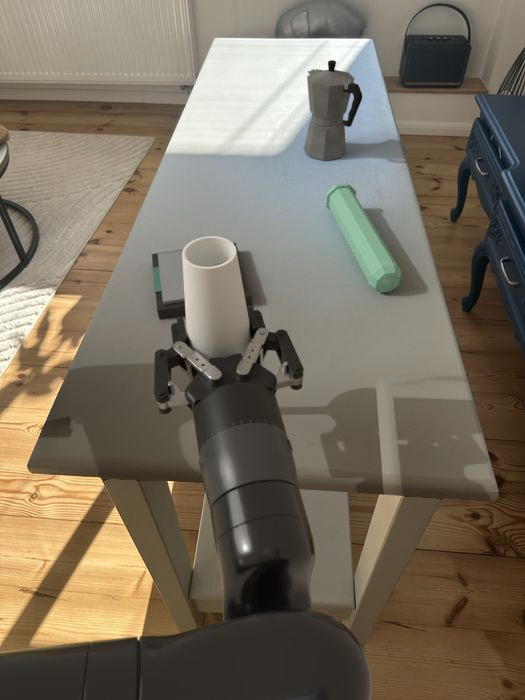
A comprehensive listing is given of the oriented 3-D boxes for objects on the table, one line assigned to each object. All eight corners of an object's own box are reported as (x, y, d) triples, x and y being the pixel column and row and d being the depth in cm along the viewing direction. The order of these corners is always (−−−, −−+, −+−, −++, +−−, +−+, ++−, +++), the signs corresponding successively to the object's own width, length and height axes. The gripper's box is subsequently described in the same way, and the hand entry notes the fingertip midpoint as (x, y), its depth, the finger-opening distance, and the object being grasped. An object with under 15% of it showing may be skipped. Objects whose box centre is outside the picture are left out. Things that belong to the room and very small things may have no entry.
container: (404, 263, 69) (350, 176, 86) (366, 280, 70) (320, 191, 87) (411, 289, 74) (358, 202, 90) (374, 305, 75) (329, 216, 91)
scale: (158, 319, 71) (155, 307, 69) (153, 262, 80) (150, 250, 79) (252, 304, 73) (251, 292, 71) (236, 251, 82) (235, 239, 80)
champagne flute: (251, 437, 57) (242, 278, 39) (196, 432, 58) (162, 274, 40) (258, 392, 62) (252, 231, 44) (206, 388, 62) (179, 228, 44)
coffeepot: (289, 146, 109) (291, 56, 95) (321, 135, 112) (327, 47, 99) (335, 173, 100) (345, 78, 87) (368, 159, 104) (382, 67, 90)
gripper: (165, 491, 42) (153, 352, 53) (324, 458, 44) (281, 331, 55) (148, 444, 36) (139, 300, 47) (332, 410, 38) (282, 279, 49)
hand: (215, 317), depth 51 cm, fingers closed on champagne flute, 6 cm apart
